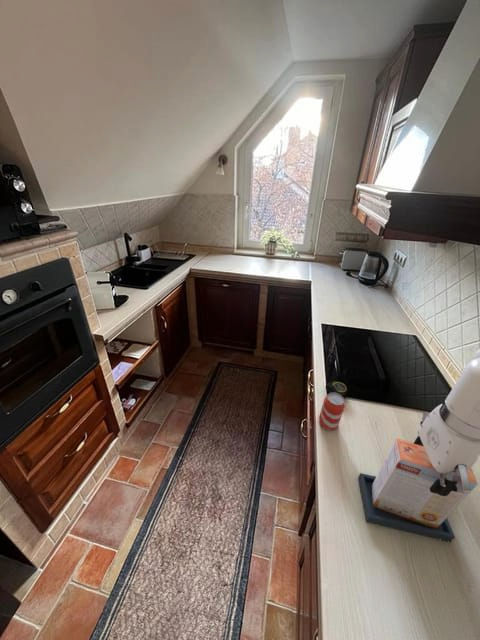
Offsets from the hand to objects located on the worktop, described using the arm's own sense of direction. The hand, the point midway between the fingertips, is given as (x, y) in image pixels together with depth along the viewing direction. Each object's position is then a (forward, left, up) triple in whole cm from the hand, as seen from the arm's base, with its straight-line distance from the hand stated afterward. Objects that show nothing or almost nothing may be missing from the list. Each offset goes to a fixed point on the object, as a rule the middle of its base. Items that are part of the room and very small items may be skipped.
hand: (427, 469), depth 56 cm
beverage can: (+16, -22, -18) cm, 33 cm away
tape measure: (+12, -36, -18) cm, 42 cm away
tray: (0, 0, -18) cm, 18 cm away
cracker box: (0, 0, -17) cm, 17 cm away
